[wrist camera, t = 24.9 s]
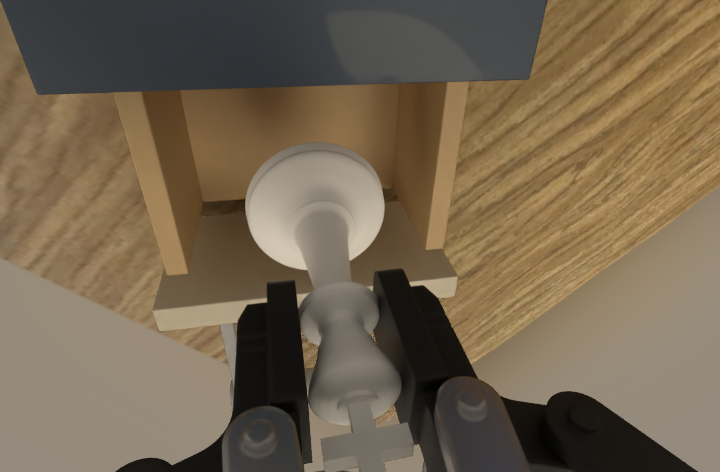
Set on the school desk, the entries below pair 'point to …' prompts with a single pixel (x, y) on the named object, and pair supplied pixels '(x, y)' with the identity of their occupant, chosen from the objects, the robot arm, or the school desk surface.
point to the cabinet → (270, 42)
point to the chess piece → (333, 291)
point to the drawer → (251, 150)
